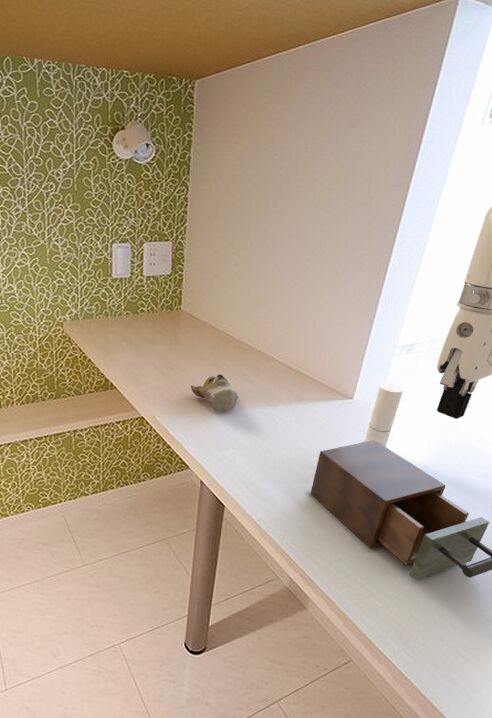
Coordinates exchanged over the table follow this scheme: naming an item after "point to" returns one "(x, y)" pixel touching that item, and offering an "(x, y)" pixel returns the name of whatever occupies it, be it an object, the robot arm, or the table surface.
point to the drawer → (434, 536)
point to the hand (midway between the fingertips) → (449, 413)
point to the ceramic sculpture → (217, 393)
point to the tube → (384, 413)
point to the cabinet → (367, 485)
